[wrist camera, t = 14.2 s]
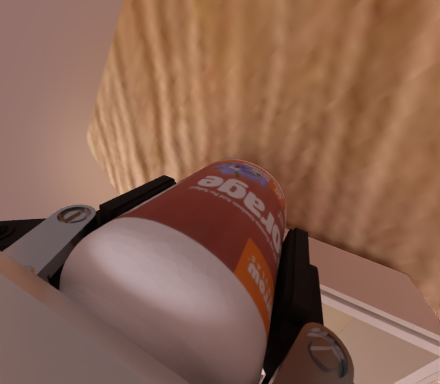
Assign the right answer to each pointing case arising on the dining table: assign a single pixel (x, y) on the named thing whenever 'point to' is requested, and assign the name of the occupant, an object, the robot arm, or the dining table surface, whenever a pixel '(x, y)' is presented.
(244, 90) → the dining table surface
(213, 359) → the pill bottle
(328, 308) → the carton
